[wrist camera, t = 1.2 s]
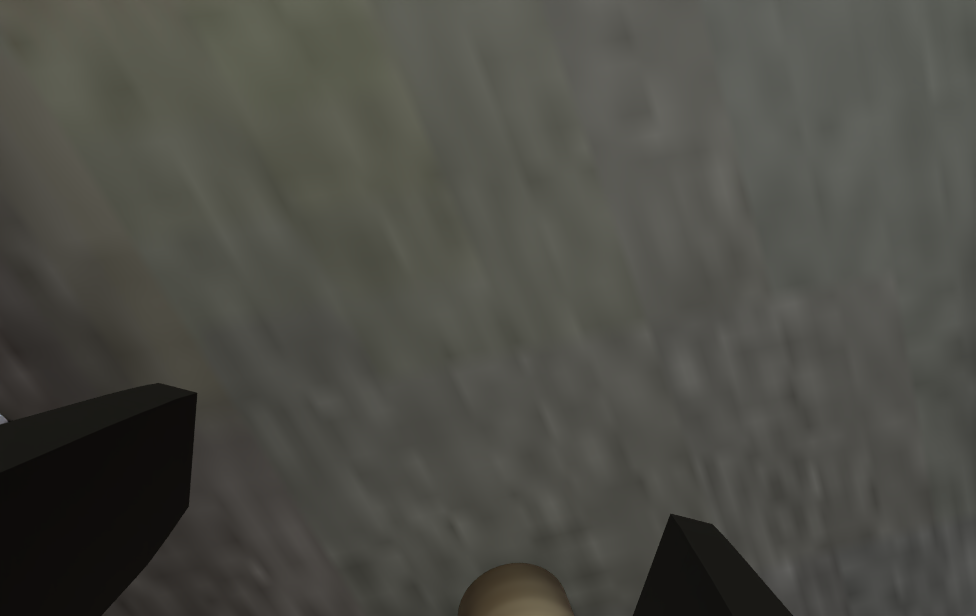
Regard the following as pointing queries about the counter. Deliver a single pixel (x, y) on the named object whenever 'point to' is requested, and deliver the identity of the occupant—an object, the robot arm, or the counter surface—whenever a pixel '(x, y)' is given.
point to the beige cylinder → (515, 593)
